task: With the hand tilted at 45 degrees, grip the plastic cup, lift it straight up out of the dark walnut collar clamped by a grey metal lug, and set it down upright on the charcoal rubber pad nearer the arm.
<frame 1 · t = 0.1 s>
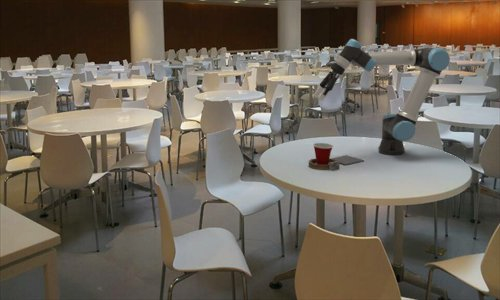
hand: (317, 98, 275), 36 cm above the table, tool tilted 35°, fingers open, 13 cm apart
walnut collar: (323, 165, 274), on the table
rubber pad: (345, 160, 283), on the table
plastic cup: (323, 166, 274), resting in walnut collar
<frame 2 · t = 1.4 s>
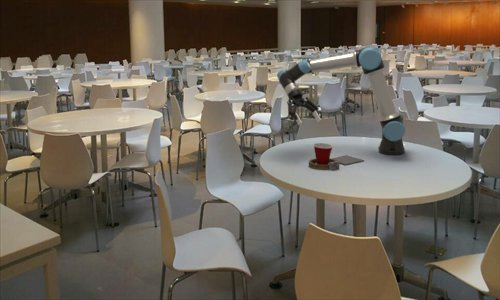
hand: (310, 122, 278), 23 cm above the table, tool tilted 45°, fingers open, 13 cm apart
nothing on the table moved.
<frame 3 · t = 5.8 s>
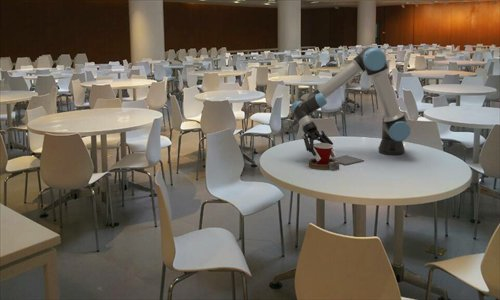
hand: (326, 158, 271), 5 cm above the table, tool tilted 45°, fingers closed on plastic cup, 10 cm apart
plastic cup: (322, 166, 274), resting in walnut collar, touching gripper
when the fingers open (7 cm above the table, at t = 12.2 s): plastic cup drops 1 cm, resting on rubber pad.
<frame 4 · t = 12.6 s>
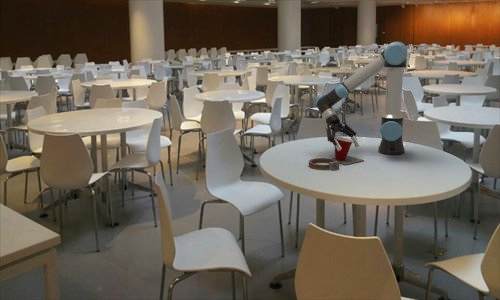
hand: (349, 148, 280), 8 cm above the table, tool tilted 45°, fingers open, 13 cm apart
plastic cup: (340, 159, 283), point 1 cm above the table, touching gripper, rubber pad
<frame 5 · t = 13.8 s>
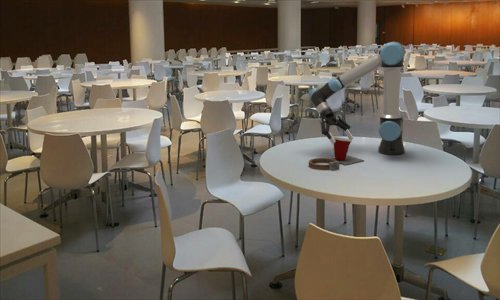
hand: (343, 141, 282), 11 cm above the table, tool tilted 45°, fingers open, 13 cm apart
plastic cup: (340, 159, 283), point 1 cm above the table, touching rubber pad
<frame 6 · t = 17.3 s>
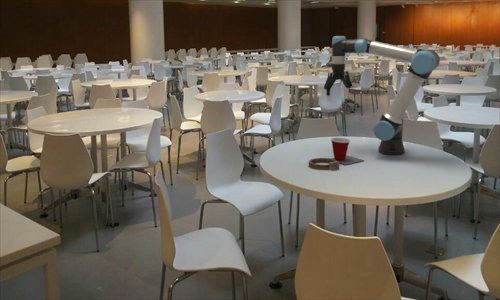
hand: (338, 100, 296), 32 cm above the table, tool pointing down, fingers open, 13 cm apart
at the end: plastic cup inside the target area on the rubber pad (3.4 cm from its centre), point 0.6 cm above the rubber pad's base; plastic cup tilted 0°; the gripper is holding nothing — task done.
